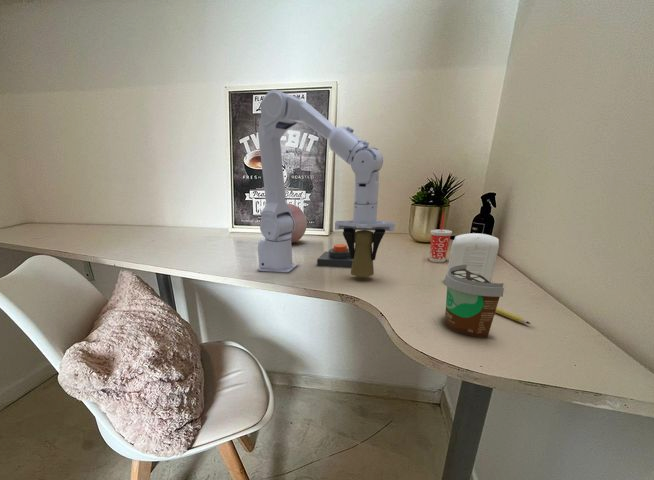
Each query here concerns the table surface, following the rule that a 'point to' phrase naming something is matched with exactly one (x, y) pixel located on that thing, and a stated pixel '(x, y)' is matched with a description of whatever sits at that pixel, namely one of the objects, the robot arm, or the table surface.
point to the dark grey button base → (335, 259)
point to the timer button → (340, 248)
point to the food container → (470, 302)
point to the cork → (363, 254)
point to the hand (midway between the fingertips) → (362, 258)
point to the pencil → (511, 316)
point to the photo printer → (475, 253)
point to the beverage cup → (439, 244)
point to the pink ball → (298, 223)
